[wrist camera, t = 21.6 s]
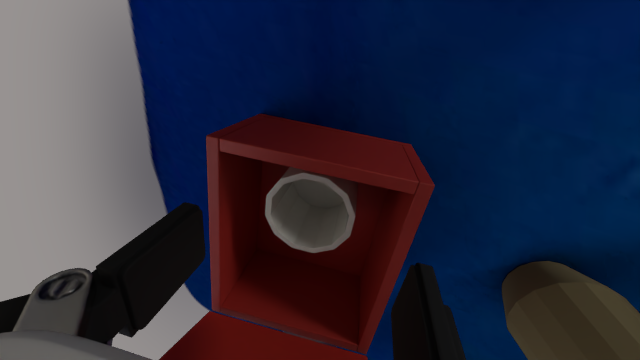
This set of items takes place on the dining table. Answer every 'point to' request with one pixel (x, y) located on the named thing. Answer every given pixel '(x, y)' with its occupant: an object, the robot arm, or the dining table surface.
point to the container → (311, 210)
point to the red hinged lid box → (301, 266)
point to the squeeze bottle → (568, 315)
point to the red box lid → (248, 343)
